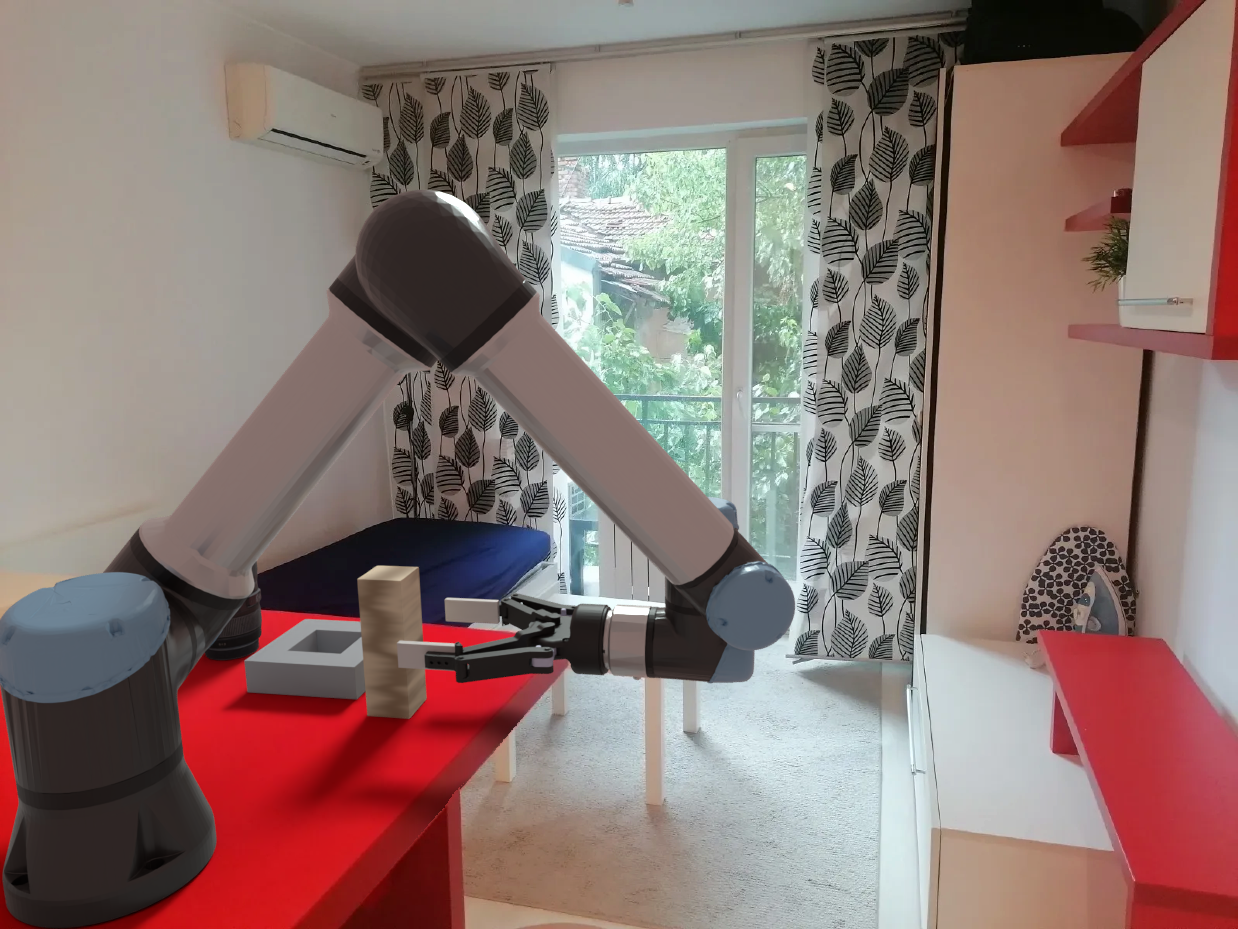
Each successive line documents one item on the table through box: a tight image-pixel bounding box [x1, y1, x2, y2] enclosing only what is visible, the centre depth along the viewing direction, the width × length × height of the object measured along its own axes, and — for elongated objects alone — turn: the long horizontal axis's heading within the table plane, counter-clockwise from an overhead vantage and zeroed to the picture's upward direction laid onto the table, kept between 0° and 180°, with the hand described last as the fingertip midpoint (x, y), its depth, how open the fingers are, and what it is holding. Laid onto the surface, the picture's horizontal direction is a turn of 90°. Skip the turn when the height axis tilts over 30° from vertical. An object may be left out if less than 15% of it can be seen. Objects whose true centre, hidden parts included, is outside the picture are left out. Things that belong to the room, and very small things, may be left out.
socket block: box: [243, 618, 366, 700], centre depth 110 cm, size 14×14×4 cm
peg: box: [356, 565, 428, 720], centre depth 99 cm, size 5×5×16 cm
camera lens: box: [204, 560, 263, 661], centre depth 116 cm, size 8×8×15 cm
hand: (423, 630), depth 98 cm, fingers open, 13 cm apart
